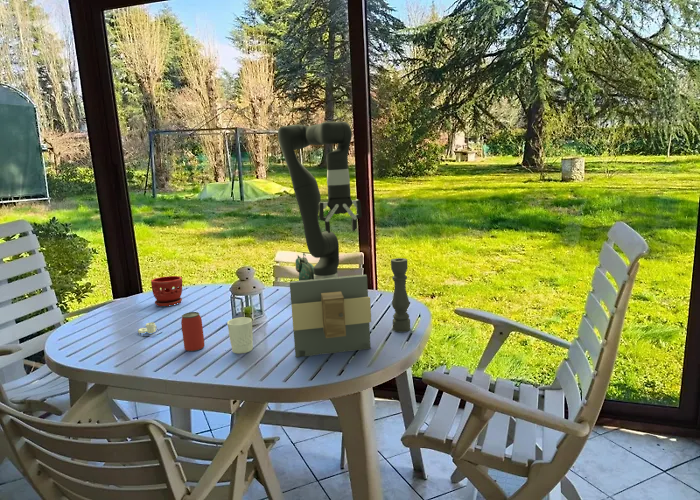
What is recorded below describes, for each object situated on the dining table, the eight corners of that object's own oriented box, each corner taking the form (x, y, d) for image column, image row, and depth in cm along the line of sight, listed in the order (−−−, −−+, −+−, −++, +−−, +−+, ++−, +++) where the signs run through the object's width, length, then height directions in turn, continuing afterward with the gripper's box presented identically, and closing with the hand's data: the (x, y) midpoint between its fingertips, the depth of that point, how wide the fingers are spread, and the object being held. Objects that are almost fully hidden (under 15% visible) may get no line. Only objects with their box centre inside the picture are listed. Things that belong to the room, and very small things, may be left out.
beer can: (187, 345, 168) (183, 312, 166) (206, 343, 169) (202, 310, 166) (182, 352, 162) (178, 318, 160) (202, 351, 162) (198, 316, 160)
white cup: (242, 356, 156) (239, 326, 154) (225, 352, 160) (222, 323, 158) (259, 347, 163) (256, 318, 161) (242, 343, 167) (239, 315, 165)
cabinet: (322, 326, 152) (320, 290, 149) (341, 324, 153) (339, 288, 150) (326, 340, 142) (323, 301, 139) (346, 337, 143) (344, 298, 140)
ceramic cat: (296, 292, 228) (293, 250, 225) (309, 290, 231) (306, 249, 227) (309, 303, 210) (306, 257, 207) (324, 300, 213) (320, 255, 209)
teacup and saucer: (135, 334, 184) (133, 324, 183) (155, 328, 189) (154, 318, 189) (145, 339, 178) (144, 328, 177) (166, 333, 183) (165, 322, 183)
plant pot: (178, 307, 215) (175, 281, 213) (149, 309, 215) (145, 282, 213) (188, 299, 228) (185, 274, 225) (161, 300, 228) (157, 275, 226)
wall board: (294, 347, 160) (288, 277, 156) (365, 339, 164) (362, 270, 160) (296, 361, 149) (290, 285, 145) (372, 352, 153) (369, 278, 148)
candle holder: (409, 332, 169) (407, 261, 164) (391, 331, 170) (388, 261, 165) (411, 326, 175) (408, 257, 170) (393, 325, 176) (391, 258, 171)
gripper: (318, 185, 157) (321, 234, 160) (361, 182, 159) (364, 231, 162) (316, 184, 165) (319, 231, 168) (357, 181, 167) (360, 228, 170)
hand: (341, 231), depth 165 cm, fingers open, 8 cm apart
